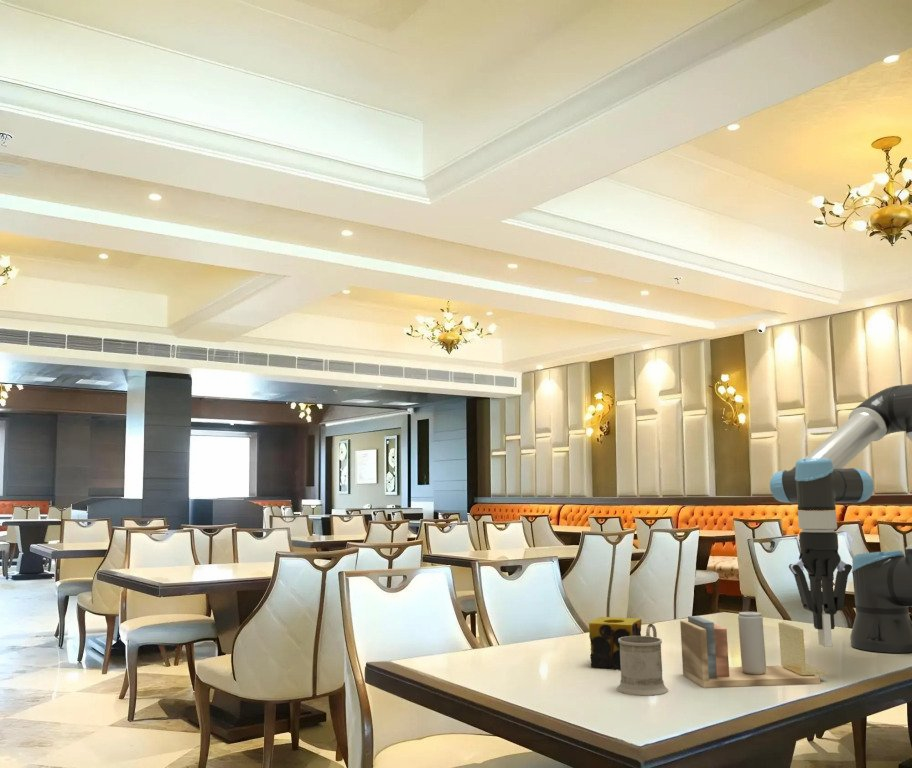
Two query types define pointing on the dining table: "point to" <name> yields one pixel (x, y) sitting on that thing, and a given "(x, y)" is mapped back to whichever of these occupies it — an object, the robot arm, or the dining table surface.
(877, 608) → the robot arm
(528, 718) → the dining table surface
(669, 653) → the dining table surface
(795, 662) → the bookend
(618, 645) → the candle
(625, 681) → the mug
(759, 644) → the beverage can
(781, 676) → the shelf
